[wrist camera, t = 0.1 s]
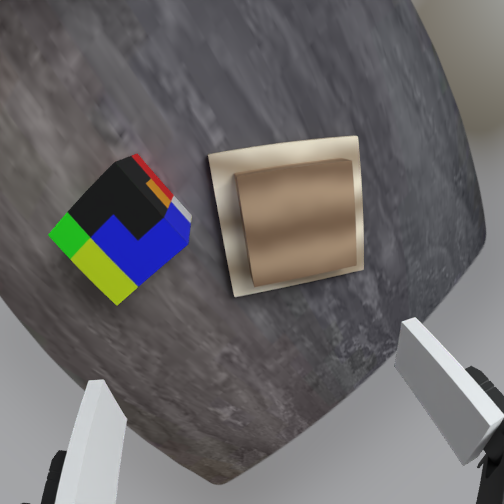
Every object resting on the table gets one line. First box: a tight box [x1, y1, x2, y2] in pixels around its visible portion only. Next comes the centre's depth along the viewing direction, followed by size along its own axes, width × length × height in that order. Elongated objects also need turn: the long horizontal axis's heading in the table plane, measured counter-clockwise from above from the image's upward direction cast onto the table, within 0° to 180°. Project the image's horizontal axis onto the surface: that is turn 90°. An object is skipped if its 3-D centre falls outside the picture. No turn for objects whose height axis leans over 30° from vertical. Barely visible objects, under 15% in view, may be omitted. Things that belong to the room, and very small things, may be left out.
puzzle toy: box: [48, 154, 192, 305], centre depth 32 cm, size 10×10×10 cm
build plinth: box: [208, 136, 364, 297], centre depth 38 cm, size 18×18×4 cm
